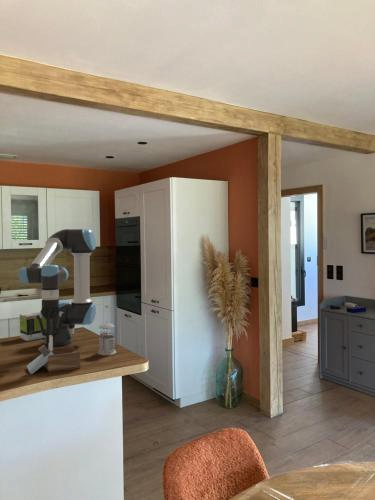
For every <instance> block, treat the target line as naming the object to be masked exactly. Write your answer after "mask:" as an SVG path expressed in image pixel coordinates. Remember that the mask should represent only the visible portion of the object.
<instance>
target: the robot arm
mask: <svg viewBox="0 0 375 500" xmlns="http://www.w3.org/2000/svg"><path fill="white" fill-rule="evenodd" d="M96 243H97V242H96V237H95V234H94V232H93V230H91V229H86V228H85V229H84V228H83V229H82V228H80V229H79V228H78V229H77V228H76V229H74V228H73V229H72V228H71V229H69V228H65V229H61V230H59V231H56V232H54V233H53V234H51V235H50V236H49V237H48V238H47V240H46V241H45V245H44V247H43V248H42V249H41V251H40V252H39V253H38V254H37V256H36V257H35V258H34V260H33V261H32V262H31V264H30V265H29V266H28V267H26V266H25V267H21V268H20V269H19V271H18V279H19V282H20V283H23V284H41V310H40V311H39V312H40V313H39V314H38V315H36V318H37V319H38V322H39V326H40V329H41V333H42V335H43V336H46V337H45V338H44V345H45V346H47V347H48V348H47V349H48V350H49V351H53V348H54V346H55V347H56V346H59V347H60V346H66V345H68V344H69V345H70V344H71V343H73V336H72V335H71V333H70V330H69V324H70V325H75V326H81V325H82V326H86V325H87V326H88V325H92V324H93V322H94V320H95V317H96V313H97V306H96V304H95V303H94V302H93V299H92V298H91V297H90V296H91V294H90V293H91V291H90V286H91V285H90V284H91V283H90V282H91V281H90V279H91V277H90V276H91V275H90V274H91V273H90V271H91V270H90V262H91V261H90V257H91V255H92V254H93V251H95V250H96V245H97V244H96ZM66 250H68V251H70V254H71V255H72V256H73V292H74V293H73V297H74V298H73V299H72V300H71V303H70V301H68V300H61V301H60V299H59V297H60V294H59V293H60V291H59V289H60V284H62V283H65V282H67V280H68V278H69V272H68V270H67V269H66V268H65V267H63V266H62V267H61V266H59V265H57V264H51V263H52V262H53V261H54V259H55V258H56V256H57V254H60V253H61V252H62V251H66ZM41 315H43V317H44V318H45V320H46V333H45V331H44V327H43V324H42V320H41V317H42V316H41Z"/></svg>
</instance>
